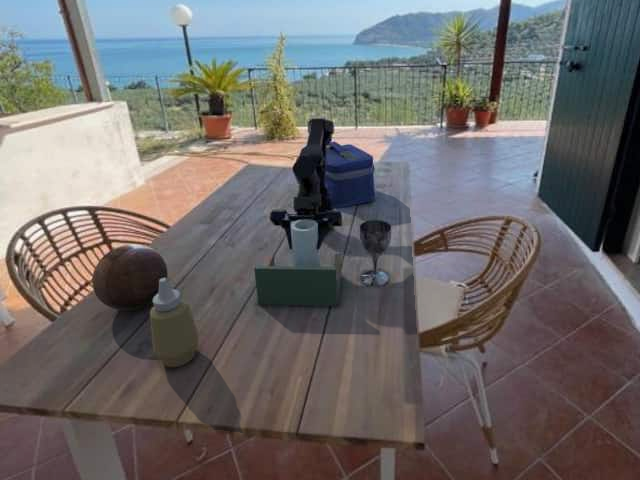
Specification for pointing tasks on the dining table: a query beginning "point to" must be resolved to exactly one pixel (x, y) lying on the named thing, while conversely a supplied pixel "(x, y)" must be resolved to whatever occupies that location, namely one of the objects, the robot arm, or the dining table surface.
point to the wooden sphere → (128, 277)
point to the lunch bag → (349, 175)
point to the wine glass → (375, 248)
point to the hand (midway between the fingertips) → (304, 249)
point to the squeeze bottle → (172, 327)
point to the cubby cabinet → (297, 284)
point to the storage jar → (305, 243)
